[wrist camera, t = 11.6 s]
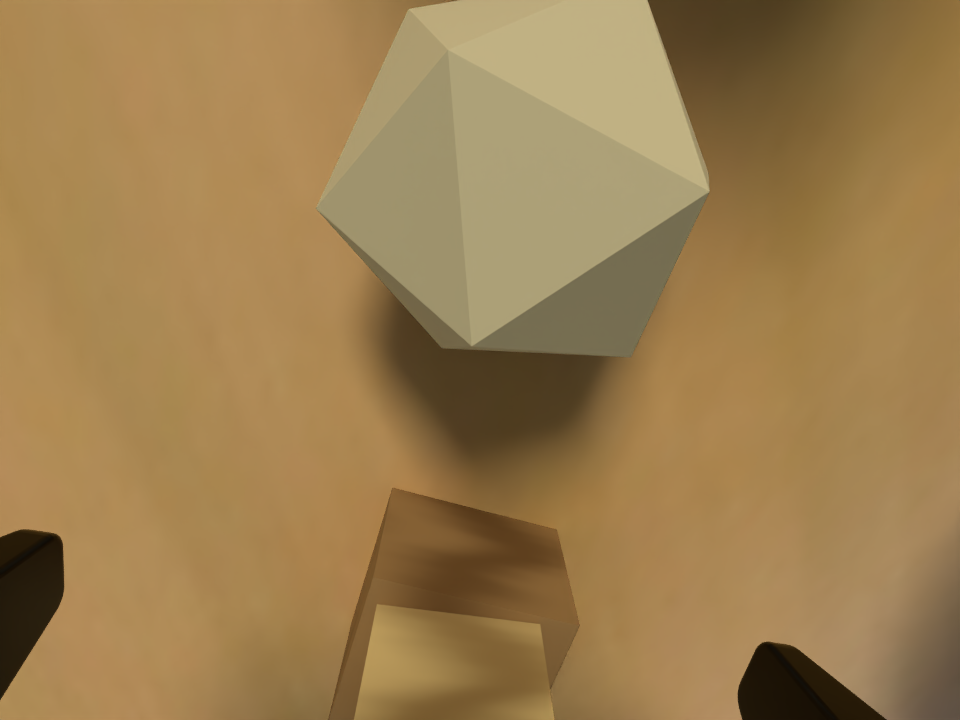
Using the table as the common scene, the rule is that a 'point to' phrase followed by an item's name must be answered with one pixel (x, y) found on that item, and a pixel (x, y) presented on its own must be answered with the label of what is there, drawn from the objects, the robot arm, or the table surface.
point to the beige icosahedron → (523, 174)
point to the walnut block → (459, 579)
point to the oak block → (453, 668)
